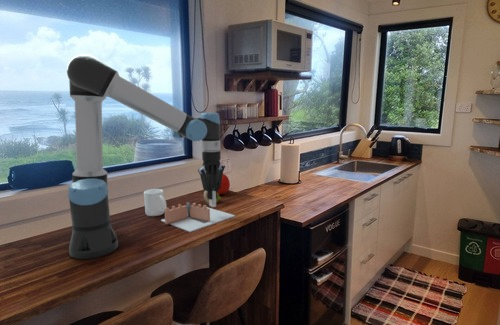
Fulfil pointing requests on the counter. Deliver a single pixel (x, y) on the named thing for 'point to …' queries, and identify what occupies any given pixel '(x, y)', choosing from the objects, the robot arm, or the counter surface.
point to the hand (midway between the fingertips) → (212, 206)
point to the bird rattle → (208, 199)
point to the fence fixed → (177, 213)
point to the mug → (154, 202)
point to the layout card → (201, 221)
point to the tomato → (224, 185)
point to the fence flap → (199, 212)
